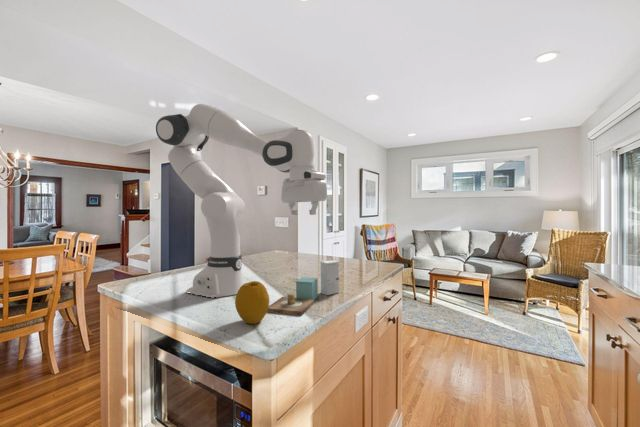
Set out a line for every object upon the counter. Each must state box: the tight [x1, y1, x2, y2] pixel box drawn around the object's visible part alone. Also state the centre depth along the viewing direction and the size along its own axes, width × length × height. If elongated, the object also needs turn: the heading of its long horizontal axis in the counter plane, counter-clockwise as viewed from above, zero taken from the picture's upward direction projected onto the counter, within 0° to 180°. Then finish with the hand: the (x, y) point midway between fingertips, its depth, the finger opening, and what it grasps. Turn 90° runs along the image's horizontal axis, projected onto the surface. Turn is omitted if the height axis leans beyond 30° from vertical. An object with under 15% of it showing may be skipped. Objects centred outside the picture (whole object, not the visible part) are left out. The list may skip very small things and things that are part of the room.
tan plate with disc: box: [267, 293, 315, 316], centre depth 94 cm, size 12×12×4 cm
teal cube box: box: [295, 276, 319, 301], centre depth 103 cm, size 6×6×7 cm
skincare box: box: [320, 259, 340, 296], centre depth 110 cm, size 6×4×12 cm
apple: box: [234, 280, 270, 325], centre depth 83 cm, size 10×10×12 cm
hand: (303, 214), depth 103 cm, fingers open, 8 cm apart
